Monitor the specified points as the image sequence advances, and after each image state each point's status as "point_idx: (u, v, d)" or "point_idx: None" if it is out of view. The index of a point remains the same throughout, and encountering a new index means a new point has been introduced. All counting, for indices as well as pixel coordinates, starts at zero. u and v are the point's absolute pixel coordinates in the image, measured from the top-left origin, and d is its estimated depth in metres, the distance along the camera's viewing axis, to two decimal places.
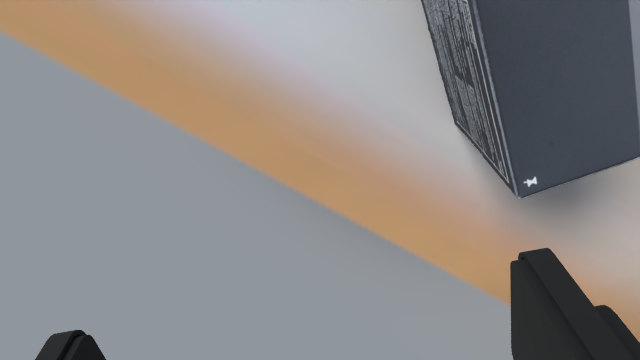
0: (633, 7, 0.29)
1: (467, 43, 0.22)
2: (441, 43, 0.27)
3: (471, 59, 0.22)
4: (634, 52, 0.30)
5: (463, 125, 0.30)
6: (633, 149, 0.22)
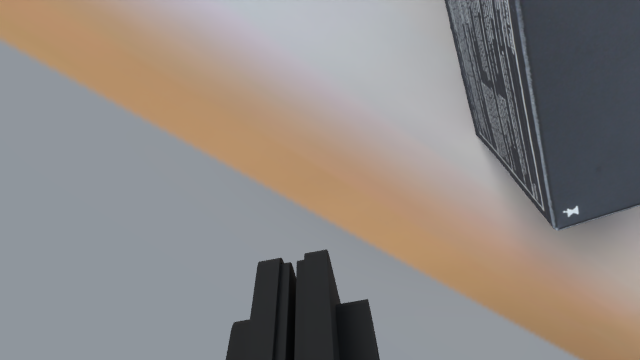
0: None
1: (501, 47, 0.18)
2: (466, 45, 0.23)
3: (506, 66, 0.18)
4: None
5: (487, 137, 0.26)
6: None
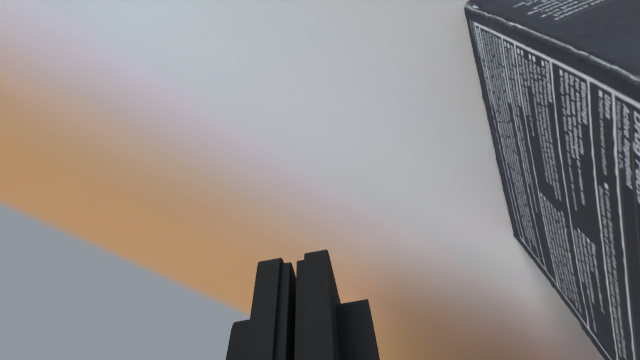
0: None
1: (604, 176, 0.10)
2: (512, 131, 0.15)
3: (611, 208, 0.10)
4: None
5: (536, 253, 0.18)
6: None
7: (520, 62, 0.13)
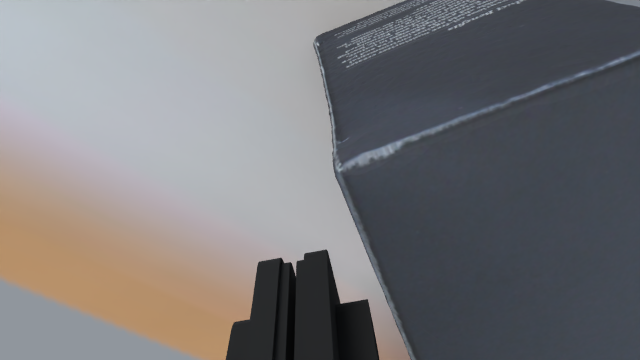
0: None
1: None
2: None
3: None
4: None
5: None
6: None
7: None
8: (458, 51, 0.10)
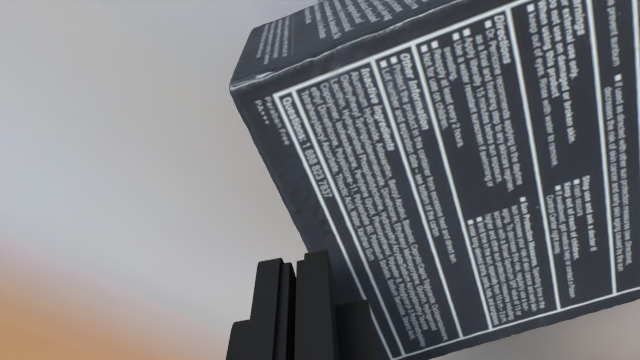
0: None
1: (616, 68, 0.10)
2: (397, 190, 0.12)
3: (624, 97, 0.11)
4: None
5: (437, 339, 0.14)
6: None
7: (428, 63, 0.10)
8: None
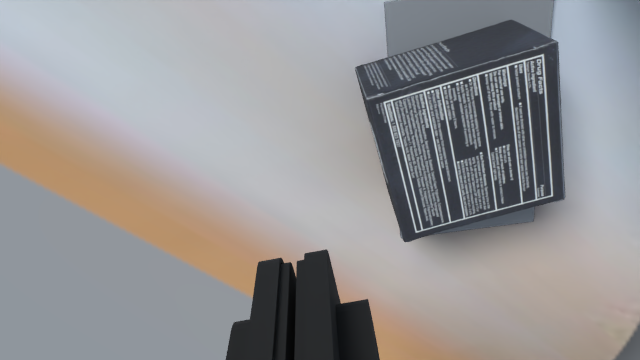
0: None
1: (519, 100, 0.26)
2: (428, 145, 0.27)
3: (523, 111, 0.26)
4: None
5: (438, 221, 0.30)
6: None
7: (446, 93, 0.26)
8: (480, 43, 0.27)
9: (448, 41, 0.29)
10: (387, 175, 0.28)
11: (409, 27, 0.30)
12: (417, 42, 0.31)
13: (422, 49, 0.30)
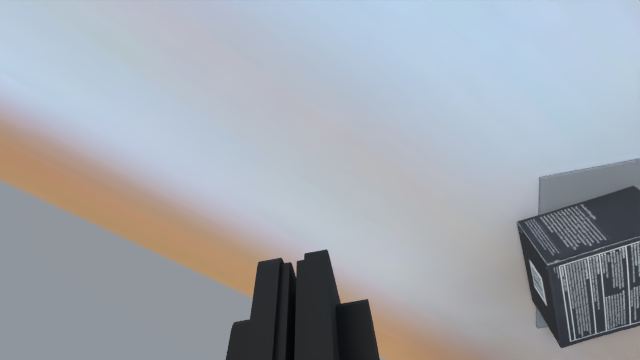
0: None
1: None
2: (586, 289, 0.38)
3: None
4: None
5: (587, 334, 0.41)
6: None
7: (602, 258, 0.37)
8: (619, 214, 0.39)
9: (589, 205, 0.41)
10: (554, 308, 0.39)
11: (557, 193, 0.42)
12: (562, 201, 0.42)
13: (570, 211, 0.41)
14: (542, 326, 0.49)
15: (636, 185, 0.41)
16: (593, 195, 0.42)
